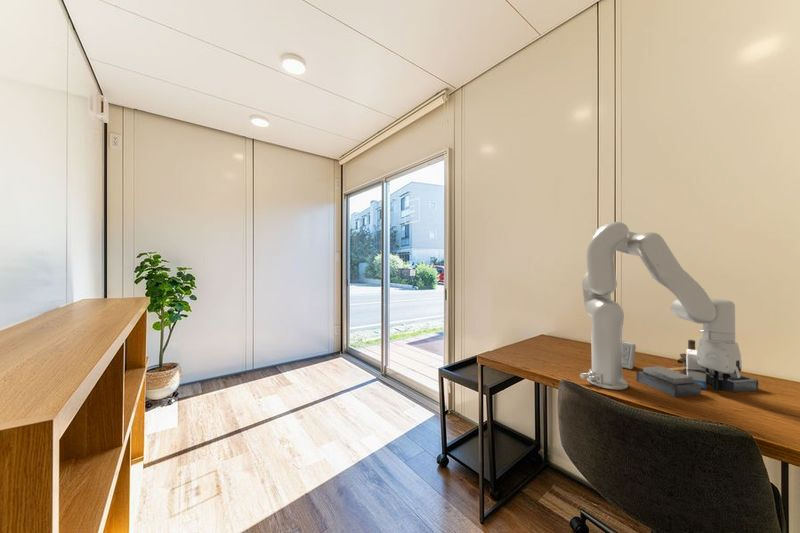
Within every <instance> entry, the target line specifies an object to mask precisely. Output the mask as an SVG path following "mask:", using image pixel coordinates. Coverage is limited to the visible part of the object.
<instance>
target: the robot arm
mask: <svg viewBox="0 0 800 533" xmlns="http://www.w3.org/2000/svg"><path fill="white" fill-rule="evenodd" d="M616 251H617V252H621V253H624V254H627V255H631V256H637V257H639V258H640V259H641V261H642V263H643V264H644V266H645V267H646V269H647V271H648V273H649V275H650V276H651V278H652V279H654V281H656V282H657V283H658V284H660V285H662V287H664V288H666V289H668V290H669V291H670V292H671V293H672V295H674V296H675V298H677V299H675V300H673V301H672V302H671V304H670V311H671V313H672V314H673V315H674V316H676V317H677V318H679V319H682V320H685V321H690V322H692V323H696V324H701V325H702V329H700V330H699V333H700V334H702V337H700V338H699V340H698V345H697V349H696V350H697V364H698V365H700V366H701V368H703V369H705V370H706V371H707V372H708V373H709V375H710V377H712V385H711V386H712V390H713V391H716V392H719V393H720V392H726V391H727V390H726V388H727V381H726V380H728V379H729V378H740V375H741V373H742V370H743V369H742V368H743V367H742V356H741V351H740V346H739V343H738V342H736V304H735V303H734V302H733V301H731V300H727V299H717V298H716V299H715V298H713V299H712V298H710V296H709V295H708V293H707V292H706V291H705V289H704V288H703V287H702V285H700V283H699V282H697V280H695V279H694V278H693V277H692V276H691V275H690V274H689V273H688V272H687V271H686V270H684V268H683V267H682V265H681V264H680V263H679V261H678V259H677V257H676V256H675V255H674V253H673V252H672V250H671V248H670V247H669V246H668V244H667V242H666V241H665V239H664V238H663V237H662V236H661V234H659V233H657V232H653V231H652V232H651V231H648V232H643V233H642V232H641V233H638V232H633V231H630V229H629V227H628V225H627V224H626V223H623V222H621V221H620V222H619V221H614V222H610V223H607V224H604V225H602V226H600V227H598V228H597V229H596V230H595V233H594V235H593V237H592V238H591V240H590V241H589V243H588V245H587V249H586V266H587V270H586V271H587V272H586V273H585V274H584V275H583V277H582V279H581V280H582V281H581V287H582V296H583V302H584V303H583V304H584V309H585V312H586V314H587V315H588V316H589V317H590V318H591V319H592V321H591V322H592V323H591V329H590V330H591V331H590V337H591V339H590V342H591V344H590V346H591V349H590V350H591V353H590V354H591V357H592V358H591V368H590V369H588V372H581V373H580V374H579V377H580V379H586V380H587V382H588V383H589V384H592V385H594V386H596V387H599V388H602V389H607V390H617V391H618V390H620V391H621V390H626V389H627V388H629V382H627V380H625V379H624V378H623V368H622V341H623V325H624V322H625V320H624V319H625V312H624V310H623V308H622V306H621V305H620V304H619V303H618V302H616V301H615V300H612V295H611V294H613V293H614V292H615V291H616V289H617V285H618V282H617V274H616V266H615V252H616Z"/></svg>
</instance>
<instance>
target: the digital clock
mask: <svg viewBox="0 0 800 533" xmlns="http://www.w3.org/2000/svg"><path fill="white" fill-rule="evenodd" d="M636 348H637V347H636V344H635V343H633V342H628V341H626V340H625V341H623V340H622V369H623V368H624V369H627V370H632V369H633V368H634V362H635V355H636ZM591 359H592V356H591Z"/></svg>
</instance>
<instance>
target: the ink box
mask: <svg viewBox="0 0 800 533" xmlns="http://www.w3.org/2000/svg"><path fill="white" fill-rule="evenodd" d="M685 350H686V353H685V354H686V368H687V376H690V377H693V382H695V383H697V384H700V385H701V389H704V390H706V389H707V383H706V370H705V369H703V368H701V366H700V365H698V364H697V349H695V350H691V349H688V348H686V349H685Z"/></svg>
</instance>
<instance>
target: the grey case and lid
mask: <svg viewBox="0 0 800 533" xmlns="http://www.w3.org/2000/svg"><path fill="white" fill-rule="evenodd" d="M642 368H643V369H642V371H641V370H640V371H636V382H639V383H640V382H641V384H643V385H645V384H646V385H645V386H647V385H648V387H650V388H652V387H653V388H652V389H654V388H655V390H657V391H659V392H661V391H662V393H663V394H667V395H668V396H671V397H673V398H681V397H682V398H683V397H693V396H701V395H702V388H701V385H700V384H697V383H695V382H693V377H690V376H687V368H686V367H683V366H681V367H669V368H668V367H664V366H661V365H656V366H643V367H642ZM726 381H727V388H726V391H729V392H732V393H741V392H742V393H743V392H751V391H753V392H754V391H759V379H757V378H756V379H755V378H752V377H749V376H746V375H742V374H740V378H729V379H728V380H726ZM706 384H708V385H711V386H712V377H710V375H709V373H708V372H707V371H706Z"/></svg>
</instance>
